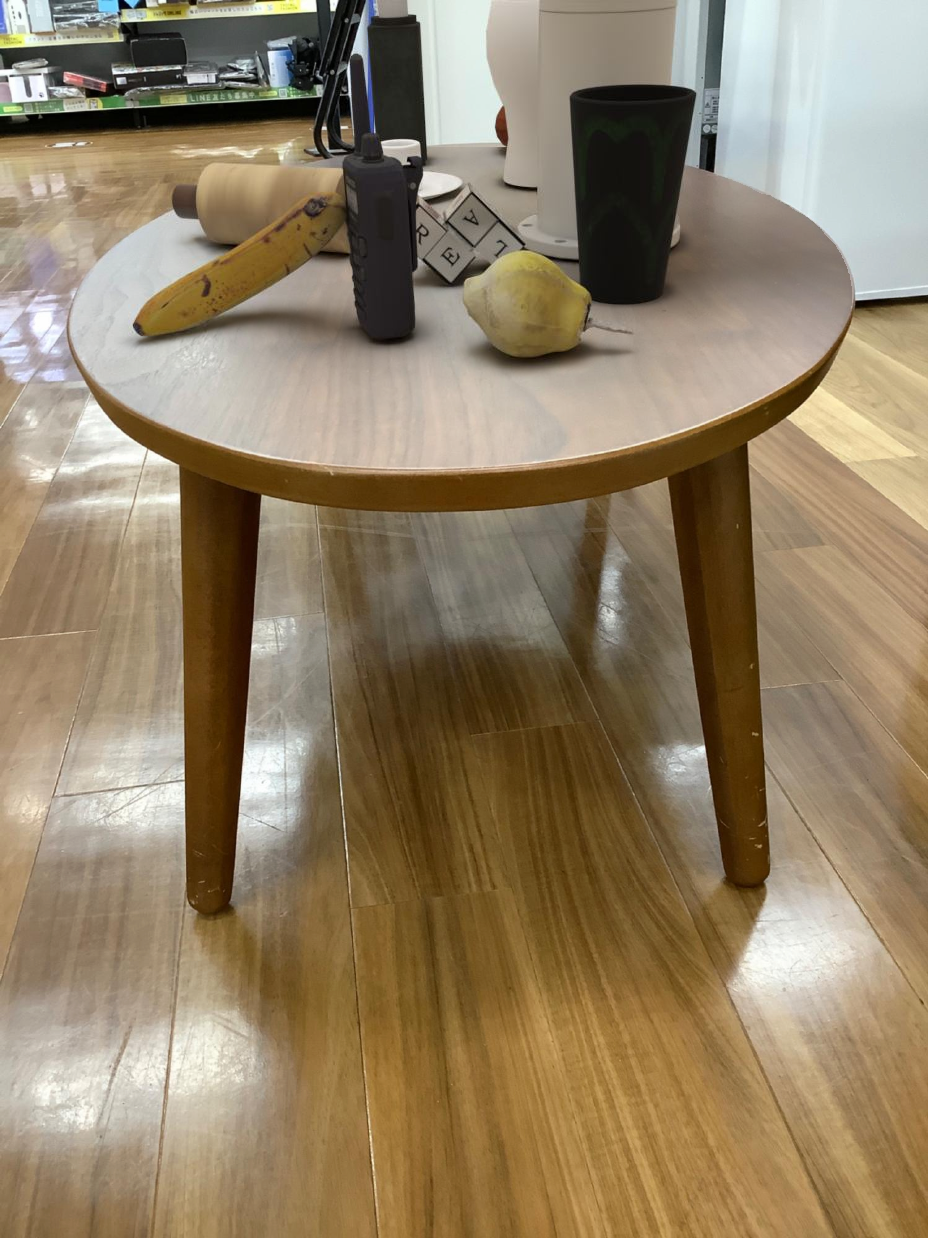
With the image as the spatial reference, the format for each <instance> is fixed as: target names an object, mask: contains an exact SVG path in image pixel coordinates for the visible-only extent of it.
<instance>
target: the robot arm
mask: <svg viewBox="0 0 928 1238" xmlns="http://www.w3.org/2000/svg"><path fill="white" fill-rule="evenodd" d="M678 1H679V0H539V54H538V175H537V187H536V189H537V196H536V197H537V198H536V207H537V208H536V213H534V214H532V215H530V216H527V217H526V218H524V219H522V220H521V221H520V222H519V223H518V225H517V227H516V230H517V231H518V232H519V233H520V234H521V235H522V236H523V239H524V241H525V243H526V245H525V246H524V247H523V249H525V250H527V251H532V252H535V253H538V254H540V255H542V256H545V257H551V258H552V257H553V258H558V259H565V260H566V259H567V260H575V261H576V260H578V261H579V256H578V238H577V221H576V203H575V186H574V168H573V151H572V133H571V116H570V98H569V96H570V95H571V94H572V93H573V92H575V91H577V90H581V89H585V88H592V87H599V86H609V85H631V84H652V85H670V86H672V72H673V71H672V70H673V60H674V59H673V57H674V47H675V46H674V45H675V33H676V17H677V7H678V4H679V3H678ZM680 236H681V225H680V216H679V214H678V212H676V218H675V224H674V230H673V236H672V242H671V247H670V249H671V248H673V247H674V246H675V245H677V244H678V242H679V241H680Z"/></svg>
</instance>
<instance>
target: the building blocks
mask: <svg viewBox="0 0 928 1238" xmlns="http://www.w3.org/2000/svg"><path fill="white" fill-rule="evenodd" d="M416 233H417V254H418V259H419V260H421V262H423V263H424V264H425V265H426V266H427V267H428V268H429V269H430V270H431V271H432V272H433V273H435V274H436V275H437V276H438V277H439V278H440V279H441V280H442V281H443V282H444V283H445V284H447V285H448V286H449V287H451V286H452V285H453V283H455V281H456V280H457V279H458V278H459V277H460V276H461V275H462V274H463V273H464V271H466V270H467V268H468V267H469V266H470V265H471V264H472V263H473V262H474V260H475V259H476V258H477V257H476V252H478V253H479V254H480V255H481V256H482V257H483V258H484V259H485V260H486V261H487V262H488V263H490V266H491V265H492V264H493V263H494V262H495V261H496V260H497V259H499V258H500V257H502V256H504V255H506V254H509V253H512V252H516V251H522V250H523V249H524V246H525V245H526V243H525V241H524V239H523V236H522V235H521V234H520V233H519V232H518V231H517V228H516V227H515V226H514V225H512V224H511V223H510V222H509V221H508V220H507V218H506V217H505V216H504V215H502V214H501V212H500V211H498V210H497V208H495V207H494V206H493V205H492V203H490V202H489V200H487V199H486V197H484V196H483V195H482V194H481V193H480V192H479V191H478V190H477V189H476V188H475V187H474V186H473V184H471V183H470V182H468V183H467V184H466V185H465V186H464V188H463V189H461V190H460V192H459V193H458V194H457V196H456V197H455V198H454V199H453V200H452V202H450V204H449V205H447V208H446V209H444V211H443V212H442V213H441V214H439V212H437V211H436V210H435V209H434V208H433V207H432V206H431V205H430V204H429V203H428V202H427V201H425V200H423V199H422V198H421V197H420V196H419V195H417V202H416ZM475 250H476V252H475Z"/></svg>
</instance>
